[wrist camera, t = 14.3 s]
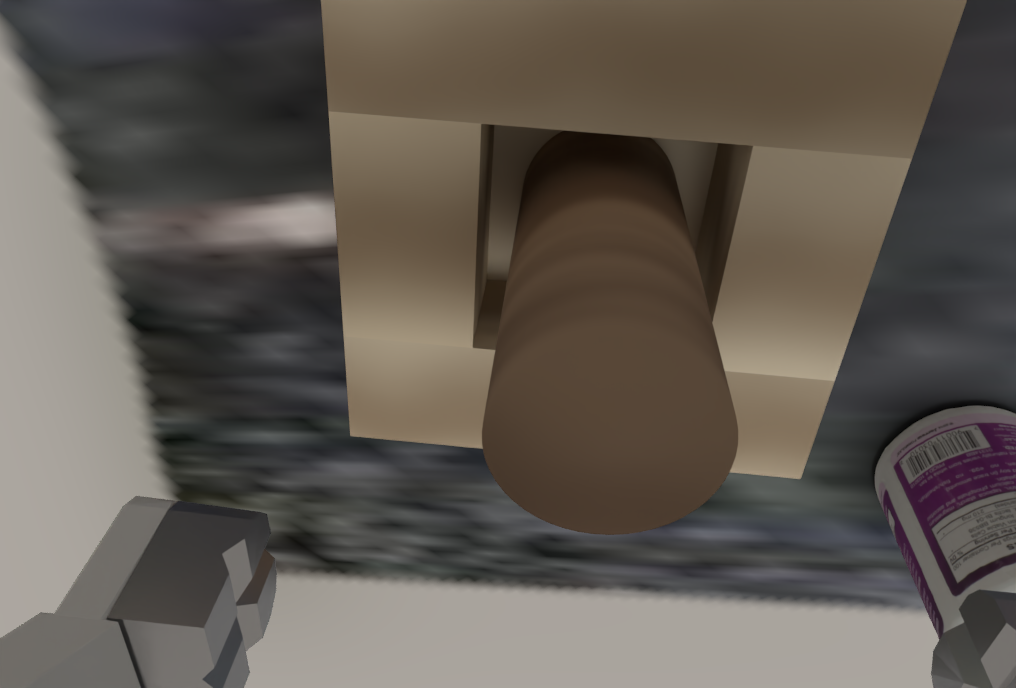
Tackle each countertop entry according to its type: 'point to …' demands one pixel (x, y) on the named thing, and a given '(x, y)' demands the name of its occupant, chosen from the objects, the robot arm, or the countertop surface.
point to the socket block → (632, 112)
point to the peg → (606, 347)
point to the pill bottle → (953, 505)
